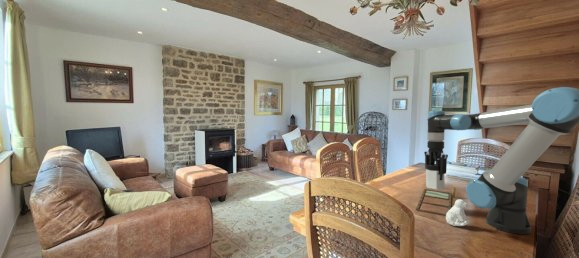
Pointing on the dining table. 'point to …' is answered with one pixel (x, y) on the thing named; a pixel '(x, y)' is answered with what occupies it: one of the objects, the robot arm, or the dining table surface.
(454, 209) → the white animal figurine
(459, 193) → the dining table surface
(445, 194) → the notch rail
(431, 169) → the jar
